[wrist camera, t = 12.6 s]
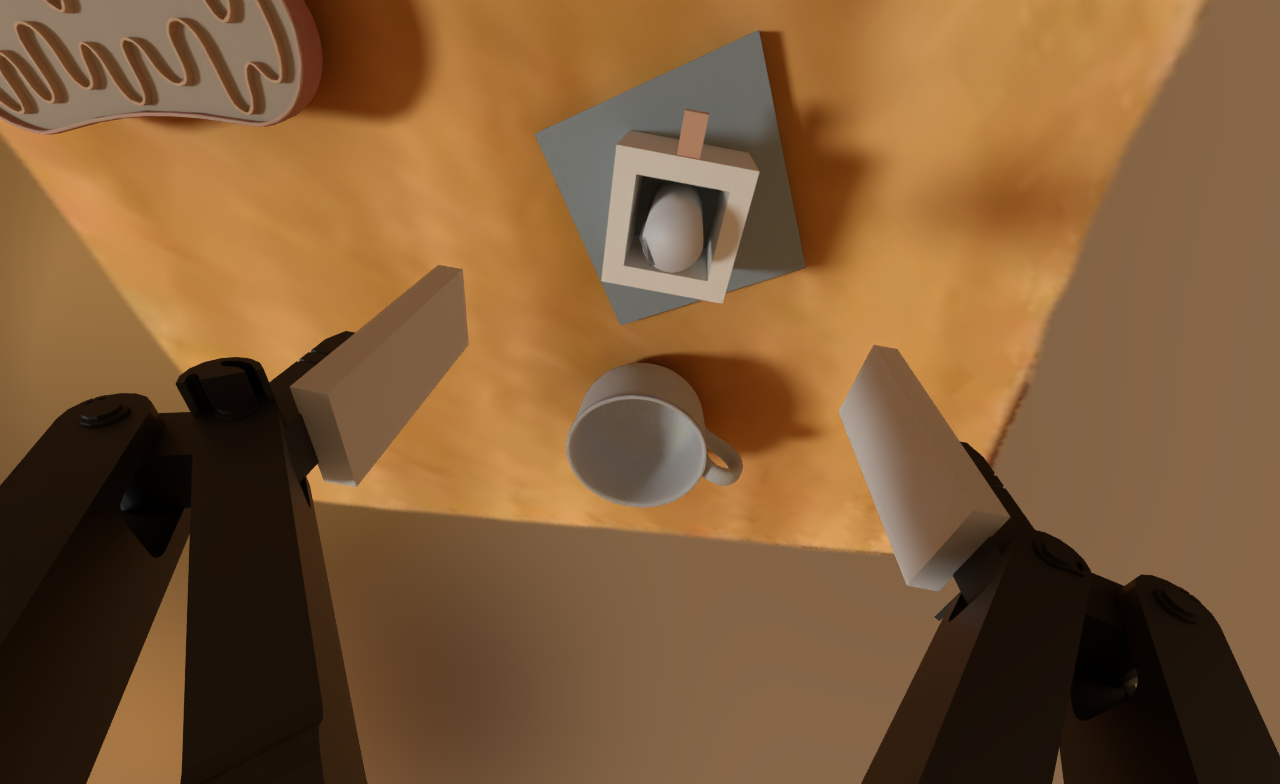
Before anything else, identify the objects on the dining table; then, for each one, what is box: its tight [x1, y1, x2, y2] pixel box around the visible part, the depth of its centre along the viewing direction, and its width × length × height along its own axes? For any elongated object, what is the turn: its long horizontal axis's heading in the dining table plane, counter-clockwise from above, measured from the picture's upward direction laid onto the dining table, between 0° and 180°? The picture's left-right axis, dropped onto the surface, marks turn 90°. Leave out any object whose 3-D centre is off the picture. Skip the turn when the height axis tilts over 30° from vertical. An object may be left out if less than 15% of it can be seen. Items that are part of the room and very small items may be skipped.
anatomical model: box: [0, 0, 323, 134], centre depth 27 cm, size 23×10×5 cm, turn 92°
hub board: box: [535, 30, 806, 325], centre depth 28 cm, size 14×14×9 cm
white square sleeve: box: [601, 108, 760, 304], centre depth 28 cm, size 9×7×6 cm
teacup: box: [566, 363, 743, 507], centre depth 39 cm, size 14×11×8 cm
